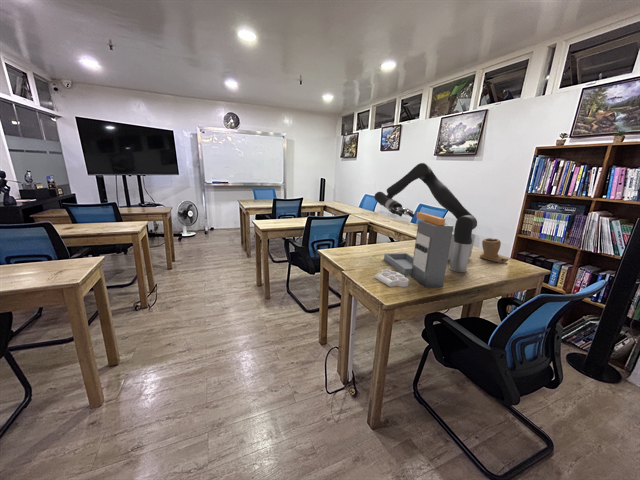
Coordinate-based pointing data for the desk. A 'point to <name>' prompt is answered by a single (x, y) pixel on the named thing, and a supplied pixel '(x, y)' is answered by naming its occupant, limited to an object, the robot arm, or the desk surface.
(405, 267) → the tray
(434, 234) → the cabinet
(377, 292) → the desk surface
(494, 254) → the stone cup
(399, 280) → the white brass knuckles
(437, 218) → the orange block
